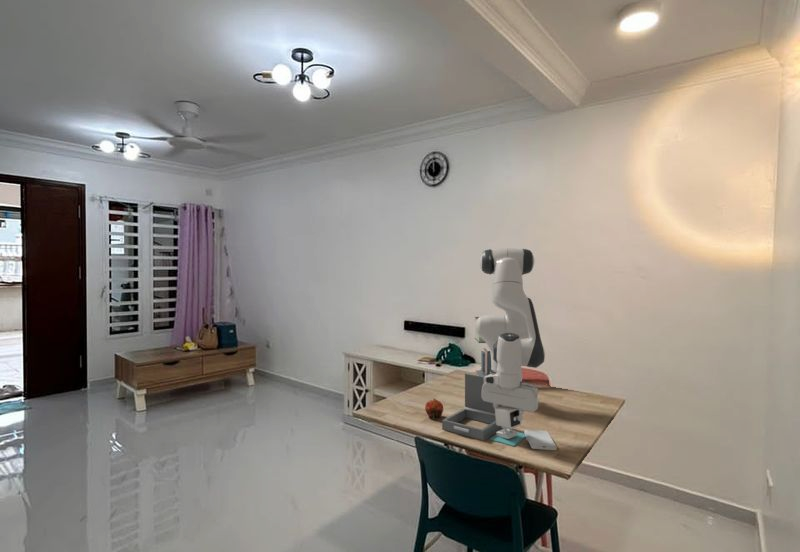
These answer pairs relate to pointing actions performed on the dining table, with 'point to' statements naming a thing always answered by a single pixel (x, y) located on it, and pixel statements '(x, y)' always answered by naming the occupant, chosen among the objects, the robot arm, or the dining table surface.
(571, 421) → the dining table surface
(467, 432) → the equipment case
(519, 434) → the teal mat
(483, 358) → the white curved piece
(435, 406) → the pomegranate
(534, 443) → the hard drive
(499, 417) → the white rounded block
